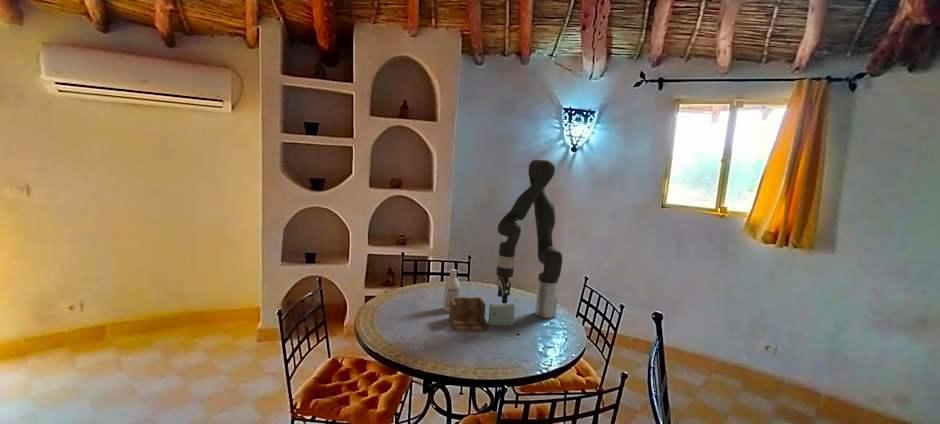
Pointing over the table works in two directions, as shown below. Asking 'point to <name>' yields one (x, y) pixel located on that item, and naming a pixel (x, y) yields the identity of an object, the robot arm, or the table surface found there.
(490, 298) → the table surface
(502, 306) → the block
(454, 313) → the cabinet
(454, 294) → the bath foam
